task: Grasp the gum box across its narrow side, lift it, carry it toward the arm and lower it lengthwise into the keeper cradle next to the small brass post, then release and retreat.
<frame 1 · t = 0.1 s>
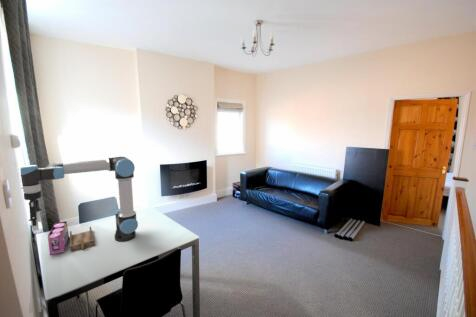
hand: (37, 226, 137), 28 cm above the table, fingers open, 13 cm apart
gum box: (60, 246, 166), on the table
keeper: (81, 240, 174), on the table
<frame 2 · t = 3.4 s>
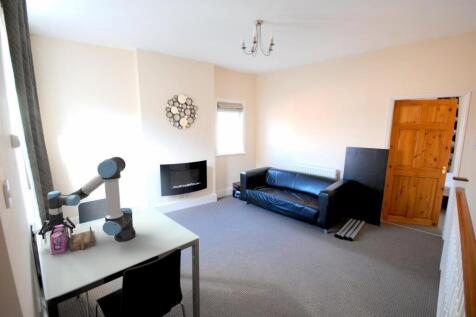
hand: (58, 240, 166), 4 cm above the table, fingers open, 14 cm apart
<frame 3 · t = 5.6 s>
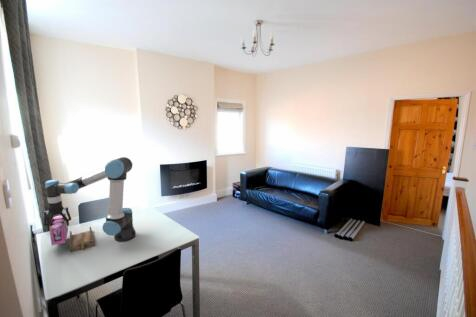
hand: (59, 231, 165), 11 cm above the table, fingers closed on gum box, 8 cm apart
gum box: (60, 237, 166), point 6 cm above the table, touching gripper
when the fingers open (4 cm above the table, at t = 9.9 s): gum box stays where it is, resting on keeper.
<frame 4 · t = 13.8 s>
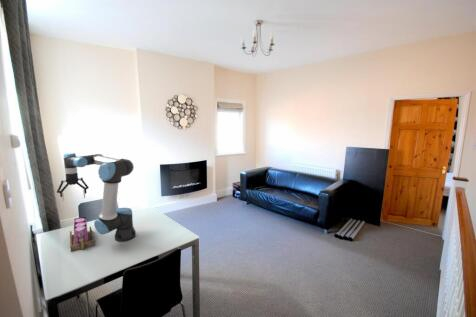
hand: (74, 199, 180), 29 cm above the table, fingers open, 13 cm apart
gum box: (81, 239, 174), resting on keeper
at the end: gum box 0.4 cm from the keeper (horizontally); gum box tilted 0°; the gripper is holding nothing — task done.
